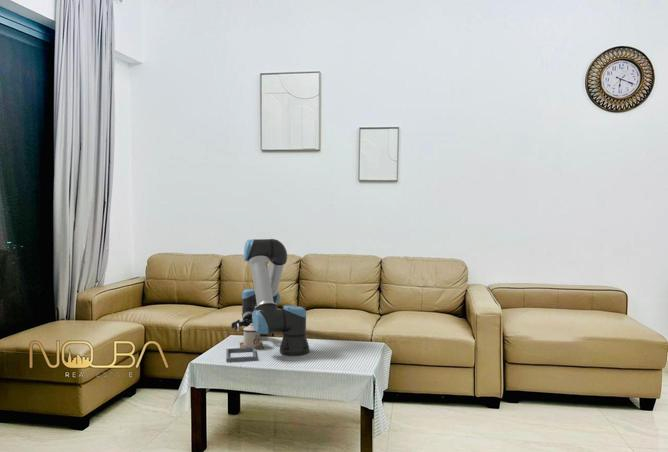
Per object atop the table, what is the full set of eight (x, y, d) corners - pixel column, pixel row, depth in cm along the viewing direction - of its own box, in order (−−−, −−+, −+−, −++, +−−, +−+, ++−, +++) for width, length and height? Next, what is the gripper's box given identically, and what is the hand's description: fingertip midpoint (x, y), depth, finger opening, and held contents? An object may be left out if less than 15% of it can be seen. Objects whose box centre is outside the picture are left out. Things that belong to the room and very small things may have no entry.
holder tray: (254, 350, 256) (254, 347, 256) (256, 360, 240) (256, 356, 240) (226, 352, 253) (226, 348, 253) (226, 362, 237) (226, 358, 237)
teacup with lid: (256, 348, 258) (256, 326, 258) (240, 347, 261) (240, 324, 261) (265, 342, 270) (265, 321, 270) (250, 341, 273) (250, 320, 272)
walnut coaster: (262, 342, 273) (262, 341, 272) (263, 348, 261) (263, 347, 261) (239, 343, 270) (239, 342, 270) (240, 349, 258) (240, 348, 258)
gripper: (271, 325, 289) (274, 334, 268) (227, 327, 284) (227, 336, 263) (271, 312, 289) (274, 320, 268) (227, 313, 284) (227, 322, 263)
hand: (251, 328), depth 266 cm, fingers open, 13 cm apart
